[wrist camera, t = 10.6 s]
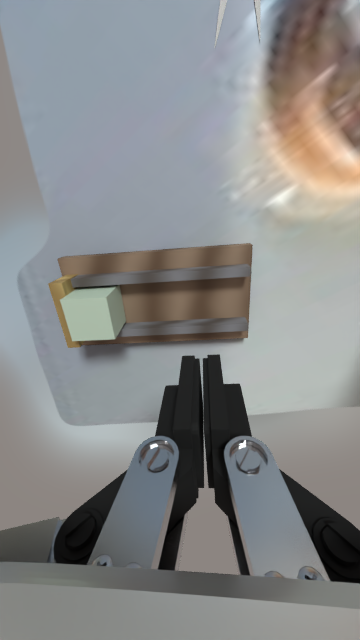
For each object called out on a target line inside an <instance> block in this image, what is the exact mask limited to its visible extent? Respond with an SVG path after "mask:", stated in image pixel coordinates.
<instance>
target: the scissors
mask: <svg viewBox="0 0 360 640" xmlns="http://www.w3.org/2000/svg"><path fill="white" fill-rule="evenodd" d="M254 1H255V8H256V16H257V23H258V31H259V38H260V0H254ZM226 3H227V0H221V1H220V8H219V15H218V22H217V31H216V40H215V46H216V42H217V38H218V34H219V30H220V26H221V23H222V19H223V15H224V11H225V7H226Z"/></svg>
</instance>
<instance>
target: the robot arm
mask: <svg viewBox="0 0 360 640" xmlns="http://www.w3.org/2000/svg"><path fill="white" fill-rule="evenodd" d="M203 402H204V436H203ZM204 437H205V449H206V461H207V474H208V485H209V488H214V490H215V503H216V504H217V505H218V506H219V507H220V509H221V510H222V511H223V512H224V513H225V514H226V516H227V523H228V528H229V533H230V538H231V542H232V547H233V552H234V556H235V561H236V566H237V571H238V575H231V574H217V573H202V572H187V571H178V570H179V564H180V558H181V552H182V547H183V541H184V535H185V529H186V523H187V516H188V511H189V510H190V509H191V507H192V506H193V505H194V504H195V503H196V498H198V488H204V440H203V438H204ZM0 640H360V531H359V530H358V529H357V528H356V527H355V526H354V525H353V524H352V523H350V522H349V521H348V520H346V519H345V518H344V517H342V516H341V515H340V514H338V513H337V512H336V511H334V510H333V509H332V508H330V507H329V506H328V505H326V504H325V503H324V502H322V501H321V500H320V499H318V498H317V497H316V496H314V495H313V494H312V493H310V492H309V491H308V490H306V489H305V488H304V487H302V486H301V485H300V484H298V483H297V482H296V481H294V480H293V479H292V478H290V477H289V476H288V475H286V474H285V473H284V472H282V471H281V470H280V469H279V468H278V466H277V464H276V462H275V460H274V457H273V455H272V453H271V452H270V450H269V449H268V447H267V446H266V445H265V444H264V443H263V442H262V441H260V440H258V439H256V438H254V437H252V435H251V430H250V426H249V422H248V417H247V413H246V408H245V404H244V399H243V395H242V391H241V386H240V384H223V377H222V369H221V361H220V355H208V358H203V399H202V386H201V374H200V361H199V359H195V356H182V362H181V370H180V378H179V385H172V386H166V387H165V391H164V396H163V400H162V405H161V410H160V415H159V420H158V425H157V430H156V435H155V437H151V438H149V439H147V440H145V441H144V442H143V443H142V444H141V445H140V446H139V447H138V449H137V450H136V452H135V454H134V457H133V459H132V461H131V464H130V466H129V468H128V470H126V471H125V472H124V473H123V474H121V475H120V476H119V477H118V478H116V479H115V480H114V481H113V482H111V483H110V484H109V485H107V486H106V487H105V488H104V489H102V490H101V491H100V492H98V493H97V494H96V495H95V496H93V497H92V498H91V499H89V500H88V501H87V502H86V503H84V504H83V505H82V506H80V507H79V508H78V509H77V510H75V511H74V512H73V513H72V514H71V515H70V516H69V517H68V518H67V519H63V520H60V518H59V517H56V518H52V519H48V520H43V521H39V522H36V523H31V524H27V525H22V526H18V527H14V528H10V529H5V530H1V531H0Z"/></svg>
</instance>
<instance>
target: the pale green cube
mask: <svg viewBox="0 0 360 640" xmlns="http://www.w3.org/2000/svg"><path fill="white" fill-rule="evenodd" d="M60 302H61V305H62V309H63V312H64V315H65V319H66V322H67V325H68V329H69V332H70V335H71V338H72V341H89V340H111V339H116V337H117V335H118V334H119V332H120V330H121V329H122V327H123V325H124V324H125V322H126V317H125V312H124V306H123V301H122V296H121V290H120V285H105V286H89V287H79V288H77V289H76V290H74V291H73V292H71V293H70V294H68V295H67V296H65V297H64V298H62V299H61V300H60Z"/></svg>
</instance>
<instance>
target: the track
mask: <svg viewBox="0 0 360 640" xmlns="http://www.w3.org/2000/svg"><path fill="white" fill-rule="evenodd" d="M58 262H59V266H60V269H61V273H62V276H63V277H61V278H59V279H57V280H55V281H53V282H51V283H49V284H48V285H49V288H50V291H51V294H52V298H53V301H54V304H55V307H56V310H57V314H58V317H59V320H60V323H61V326H62V329H63V333H64V336H65V339H66V342H67V345H68V348H72V347H81V345H99V344H121V343H143V342H166V341H188V340H210V339H232V338H248V324H249V304H250V284H251V264H252V244H250V243H247V244H233V245H219V246H205V247H191V248H177V249H163V250H150V251H136V252H122V253H108V254H94V255H80V256H66V257H61V258H58ZM105 285H120V290H121V296H122V301H123V306H124V312H125V317H126V322H125V324H124V325H123V327H122V329H121V330H120V332H119V334H118V335H117V337H116V339H111V340H89V341H72V338H71V335H70V332H69V329H68V325H67V322H66V319H65V315H64V312H63V309H62V305H61V302H60V300H61V299H62V298H64V297H65V296H67V295H68V294H70V293H71V292H73V291H74V290H76V289H77V288H79V287H89V286H105Z"/></svg>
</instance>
